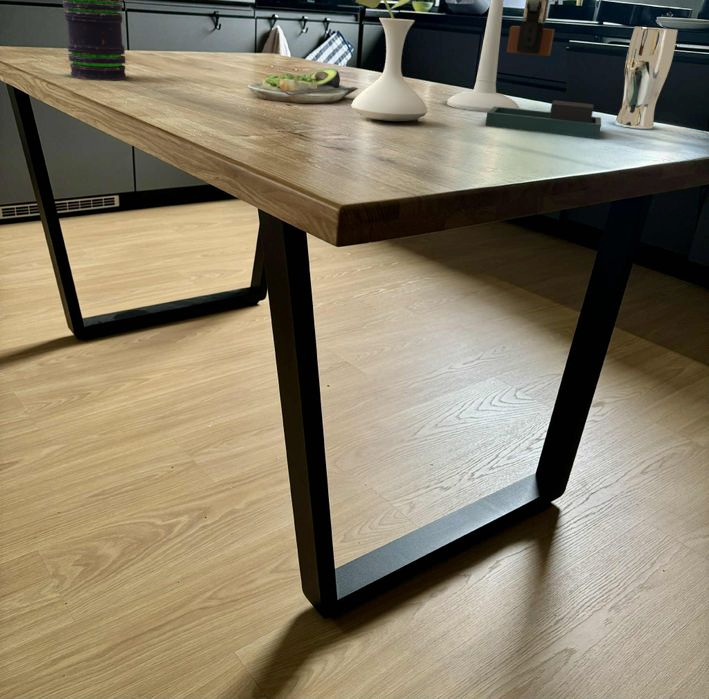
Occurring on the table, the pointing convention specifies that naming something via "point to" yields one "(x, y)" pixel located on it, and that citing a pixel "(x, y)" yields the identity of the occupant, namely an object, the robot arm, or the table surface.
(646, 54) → the beer glass
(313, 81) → the salad plate
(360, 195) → the table surface
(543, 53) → the pad
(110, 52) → the storage jar
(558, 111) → the pad
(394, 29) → the flower in vase
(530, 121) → the frame
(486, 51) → the candlestick
